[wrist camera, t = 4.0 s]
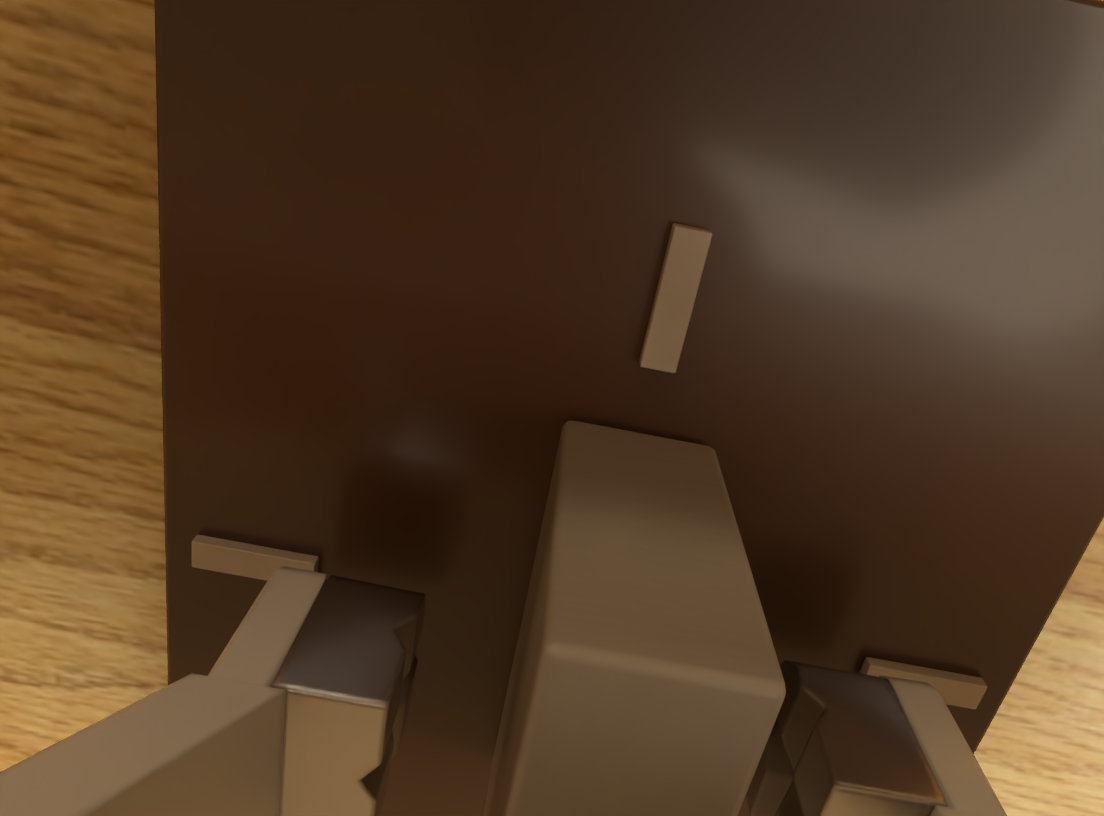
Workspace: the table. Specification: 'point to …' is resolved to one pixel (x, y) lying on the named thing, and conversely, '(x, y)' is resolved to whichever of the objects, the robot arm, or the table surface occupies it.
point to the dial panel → (633, 316)
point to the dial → (636, 641)
